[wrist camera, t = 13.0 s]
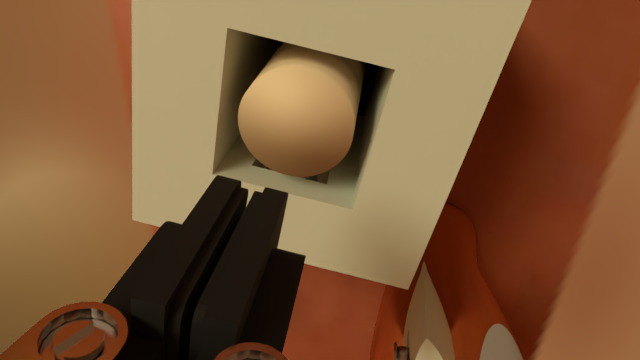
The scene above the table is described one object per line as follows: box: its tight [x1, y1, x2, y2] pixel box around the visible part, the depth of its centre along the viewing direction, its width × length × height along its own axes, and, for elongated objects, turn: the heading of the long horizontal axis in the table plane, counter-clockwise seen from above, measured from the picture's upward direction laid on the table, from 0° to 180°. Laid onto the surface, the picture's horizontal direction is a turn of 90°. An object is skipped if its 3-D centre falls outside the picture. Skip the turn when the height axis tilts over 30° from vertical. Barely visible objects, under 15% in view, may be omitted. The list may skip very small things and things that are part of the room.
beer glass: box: [370, 203, 524, 360], centre depth 23 cm, size 7×7×15 cm
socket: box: [132, 0, 531, 290], centre depth 20 cm, size 12×12×10 cm
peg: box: [238, 42, 366, 177], centre depth 20 cm, size 4×4×10 cm
